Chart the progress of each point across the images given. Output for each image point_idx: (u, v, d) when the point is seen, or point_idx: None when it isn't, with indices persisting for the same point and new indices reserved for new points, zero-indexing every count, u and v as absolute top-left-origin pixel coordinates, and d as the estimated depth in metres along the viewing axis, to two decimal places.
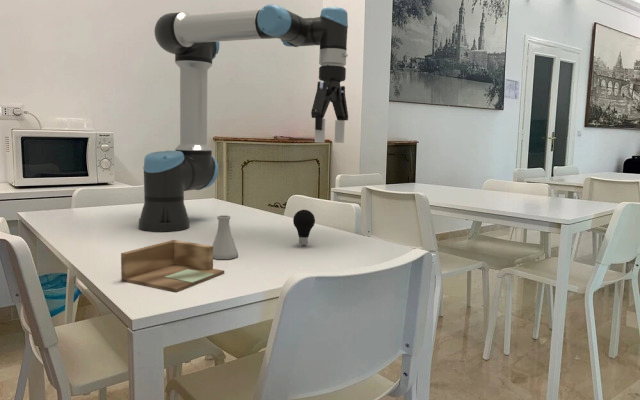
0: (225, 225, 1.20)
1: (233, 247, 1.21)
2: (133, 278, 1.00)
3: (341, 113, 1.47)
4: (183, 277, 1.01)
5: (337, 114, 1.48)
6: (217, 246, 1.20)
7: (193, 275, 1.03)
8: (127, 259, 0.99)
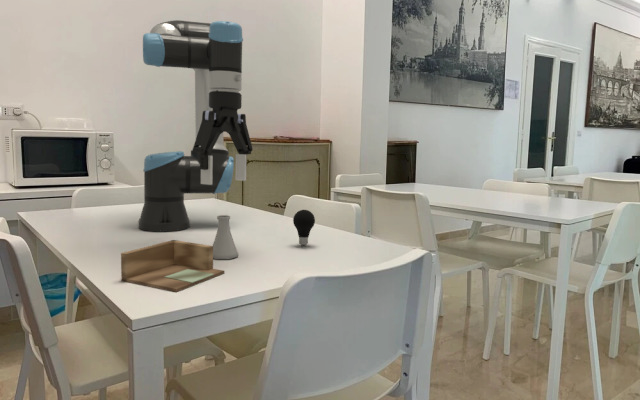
0: (225, 225, 1.20)
1: (233, 247, 1.21)
2: (133, 278, 1.00)
3: (241, 146, 1.24)
4: (183, 277, 1.01)
5: (237, 147, 1.24)
6: (217, 246, 1.20)
7: (193, 275, 1.03)
8: (127, 259, 0.99)
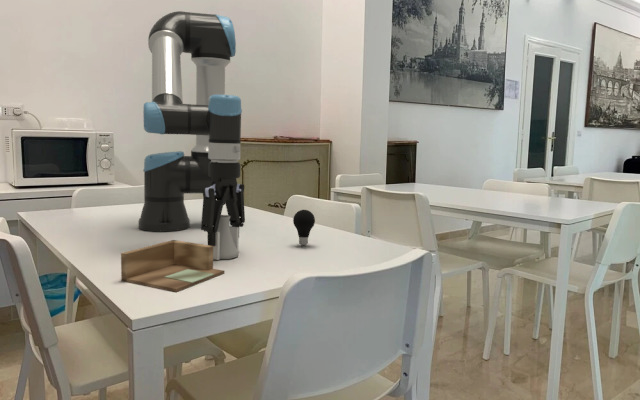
0: (225, 224, 1.20)
1: (233, 247, 1.21)
2: (133, 278, 1.00)
3: (235, 217, 1.24)
4: (183, 277, 1.01)
5: (230, 218, 1.24)
6: None
7: (193, 275, 1.03)
8: (127, 259, 0.99)
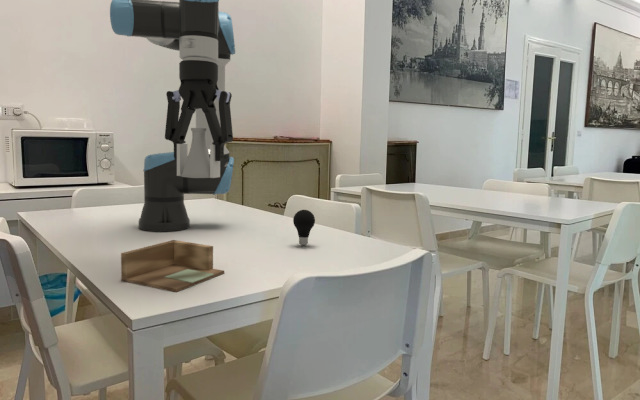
0: (192, 137, 1.01)
1: (192, 165, 1.00)
2: (133, 278, 1.00)
3: None
4: (183, 277, 1.01)
5: None
6: None
7: (193, 275, 1.03)
8: (127, 259, 0.99)
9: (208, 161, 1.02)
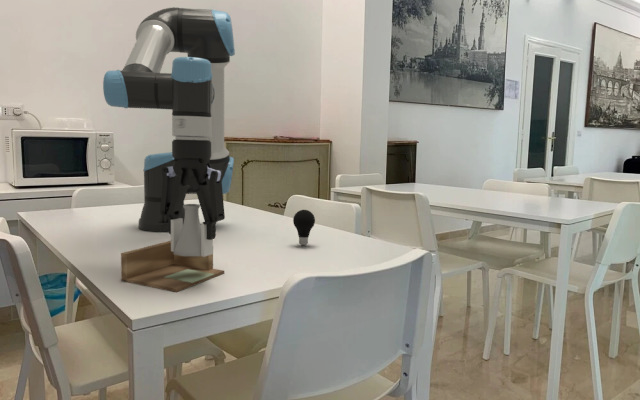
0: (185, 214, 1.00)
1: (183, 243, 0.99)
2: (133, 278, 1.00)
3: None
4: (183, 277, 1.01)
5: None
6: None
7: (193, 275, 1.03)
8: (127, 259, 0.99)
9: (200, 238, 1.00)
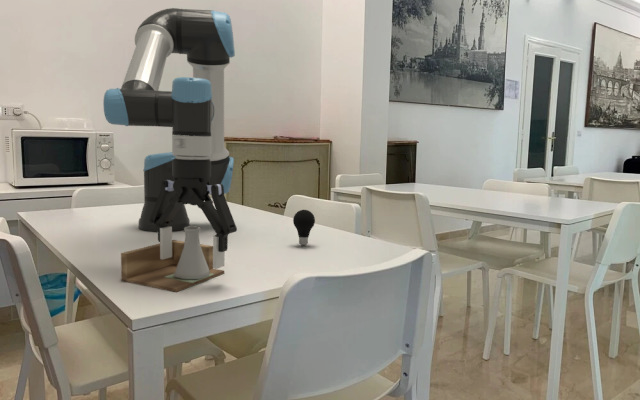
0: (185, 237, 1.01)
1: (184, 266, 1.00)
2: (133, 278, 1.00)
3: None
4: None
5: None
6: None
7: None
8: (127, 259, 0.99)
9: (201, 261, 1.01)
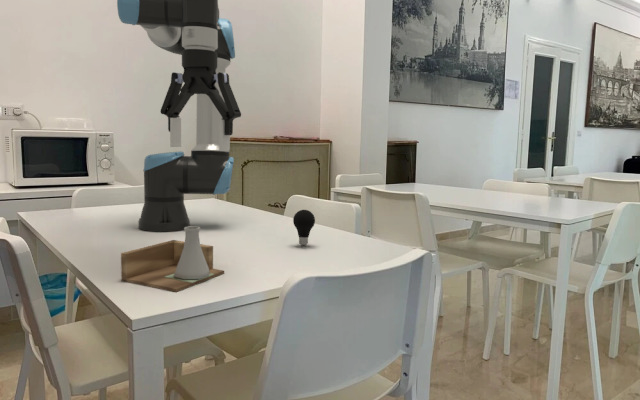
0: (185, 237, 1.01)
1: (184, 266, 1.00)
2: (133, 278, 1.00)
3: None
4: None
5: None
6: None
7: None
8: (127, 259, 0.99)
9: (201, 261, 1.01)
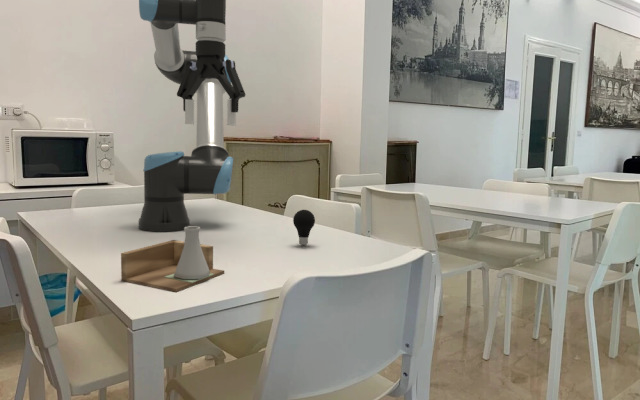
0: (185, 237, 1.01)
1: (184, 266, 1.00)
2: (133, 278, 1.00)
3: None
4: None
5: None
6: None
7: None
8: (127, 259, 0.99)
9: (201, 261, 1.01)
